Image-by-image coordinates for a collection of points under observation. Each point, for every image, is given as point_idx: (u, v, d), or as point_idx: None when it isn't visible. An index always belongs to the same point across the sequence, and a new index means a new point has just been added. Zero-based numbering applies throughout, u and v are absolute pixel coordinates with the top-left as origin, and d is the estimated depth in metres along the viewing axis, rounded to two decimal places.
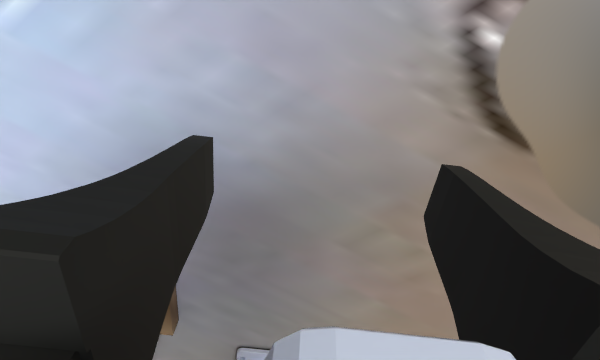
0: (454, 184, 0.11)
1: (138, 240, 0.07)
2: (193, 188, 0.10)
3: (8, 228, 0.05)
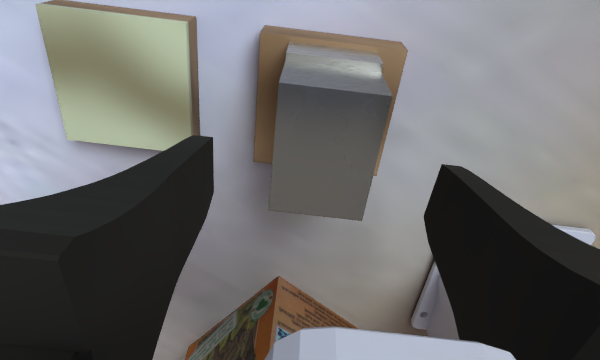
0: (454, 184, 0.11)
1: (138, 240, 0.07)
2: (193, 188, 0.10)
3: (8, 228, 0.05)
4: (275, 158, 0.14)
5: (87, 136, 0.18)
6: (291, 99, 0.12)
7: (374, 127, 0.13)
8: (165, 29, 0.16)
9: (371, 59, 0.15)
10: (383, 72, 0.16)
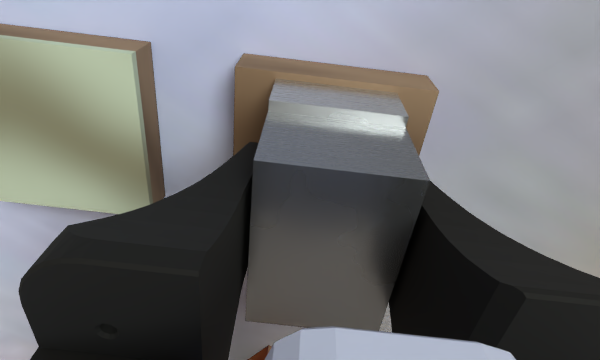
0: None
1: (230, 251, 0.07)
2: None
3: (138, 243, 0.05)
4: (252, 259, 0.09)
5: (13, 196, 0.14)
6: (274, 182, 0.08)
7: (399, 222, 0.08)
8: (103, 62, 0.11)
9: (390, 108, 0.10)
10: None
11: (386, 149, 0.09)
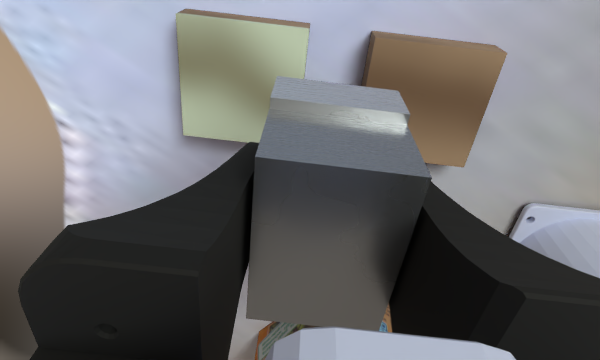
0: None
1: (229, 251, 0.07)
2: None
3: (138, 242, 0.05)
4: (253, 256, 0.09)
5: (202, 132, 0.20)
6: (275, 179, 0.08)
7: (401, 219, 0.08)
8: (289, 35, 0.18)
9: (392, 105, 0.10)
10: (482, 72, 0.18)
11: (388, 146, 0.09)
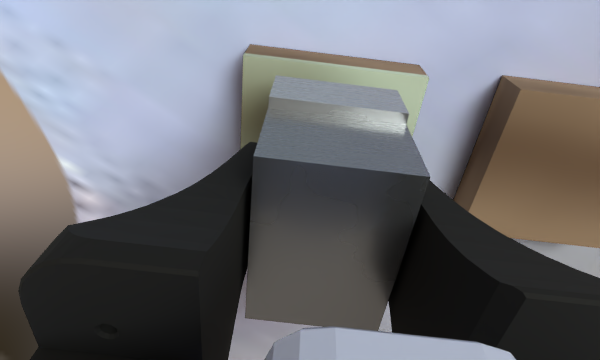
0: None
1: (229, 251, 0.07)
2: None
3: (139, 242, 0.05)
4: (252, 256, 0.09)
5: None
6: (273, 179, 0.08)
7: (400, 219, 0.08)
8: (400, 85, 0.13)
9: (391, 105, 0.10)
10: None
11: (386, 146, 0.09)
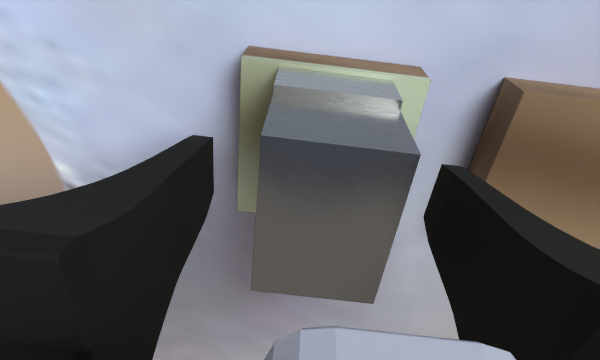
0: (454, 184, 0.11)
1: (138, 240, 0.07)
2: (193, 188, 0.10)
3: (8, 228, 0.05)
4: (258, 230, 0.10)
5: None
6: (279, 156, 0.09)
7: (393, 193, 0.09)
8: (401, 88, 0.12)
9: (386, 93, 0.11)
10: None
11: (381, 128, 0.10)
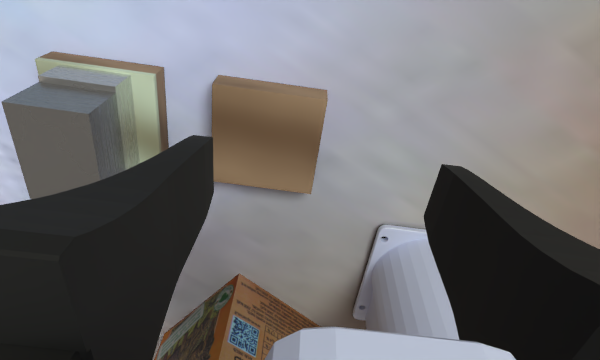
0: (454, 184, 0.11)
1: (138, 240, 0.07)
2: (193, 188, 0.10)
3: (8, 228, 0.05)
4: (20, 158, 0.18)
5: None
6: (15, 114, 0.16)
7: (84, 136, 0.17)
8: (137, 80, 0.20)
9: (111, 82, 0.19)
10: (310, 115, 0.21)
11: (85, 101, 0.17)
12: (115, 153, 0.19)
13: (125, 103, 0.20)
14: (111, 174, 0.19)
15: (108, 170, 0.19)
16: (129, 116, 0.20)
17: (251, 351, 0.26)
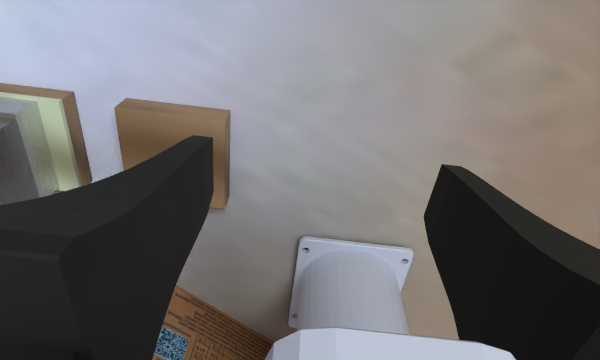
0: (454, 184, 0.11)
1: (139, 240, 0.07)
2: (193, 188, 0.10)
3: (8, 228, 0.05)
4: None
5: None
6: None
7: None
8: (44, 105, 0.21)
9: (13, 109, 0.20)
10: (211, 135, 0.22)
11: None
12: (21, 176, 0.20)
13: (31, 128, 0.21)
14: (16, 196, 0.20)
15: (12, 192, 0.20)
16: (38, 139, 0.21)
17: None
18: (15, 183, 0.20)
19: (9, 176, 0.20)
